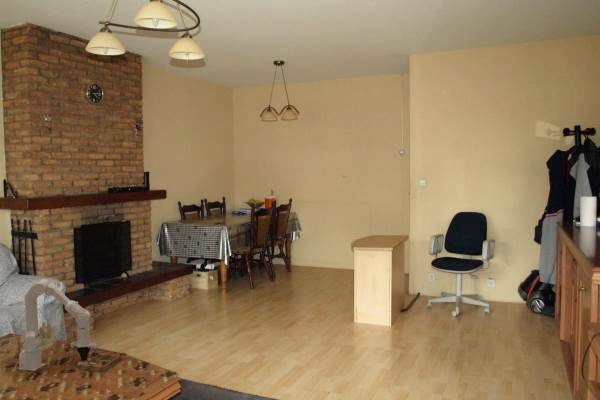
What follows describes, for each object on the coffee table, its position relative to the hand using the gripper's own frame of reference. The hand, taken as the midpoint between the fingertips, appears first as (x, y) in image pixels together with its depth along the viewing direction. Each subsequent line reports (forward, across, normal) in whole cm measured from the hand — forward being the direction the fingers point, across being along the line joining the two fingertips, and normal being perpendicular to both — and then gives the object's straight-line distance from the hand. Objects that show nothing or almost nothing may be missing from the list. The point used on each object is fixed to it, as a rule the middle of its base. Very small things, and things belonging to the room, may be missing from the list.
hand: (84, 361), depth 240 cm
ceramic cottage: (+2, -40, +16) cm, 43 cm away
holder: (+1, +10, 0) cm, 10 cm away
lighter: (0, +1, -1) cm, 1 cm away
